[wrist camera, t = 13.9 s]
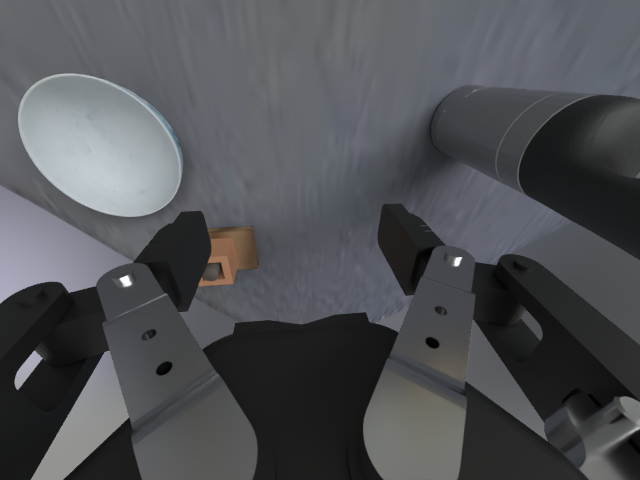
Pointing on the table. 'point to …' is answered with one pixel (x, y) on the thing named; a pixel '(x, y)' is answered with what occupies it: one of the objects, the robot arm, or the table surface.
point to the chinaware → (101, 144)
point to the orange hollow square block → (222, 262)
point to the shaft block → (243, 248)
